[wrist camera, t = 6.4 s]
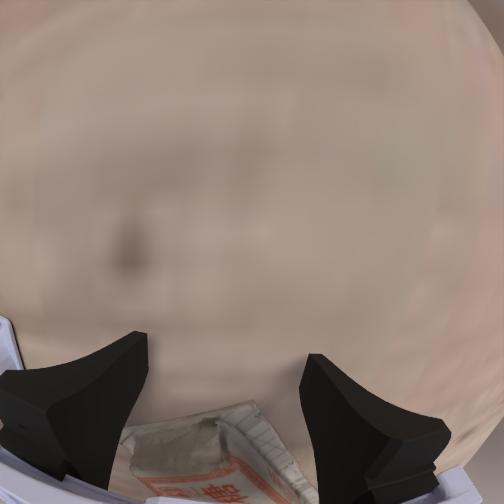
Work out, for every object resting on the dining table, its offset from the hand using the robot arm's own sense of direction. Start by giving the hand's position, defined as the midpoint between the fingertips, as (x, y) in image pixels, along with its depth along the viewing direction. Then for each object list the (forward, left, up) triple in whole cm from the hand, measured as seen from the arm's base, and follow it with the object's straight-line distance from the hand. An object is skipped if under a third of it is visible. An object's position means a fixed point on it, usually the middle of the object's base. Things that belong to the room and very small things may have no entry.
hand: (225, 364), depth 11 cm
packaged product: (+2, -13, -2) cm, 14 cm away
